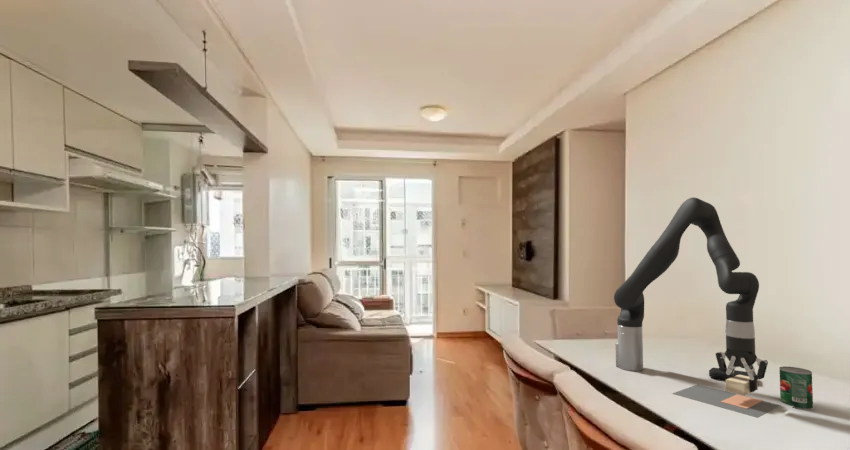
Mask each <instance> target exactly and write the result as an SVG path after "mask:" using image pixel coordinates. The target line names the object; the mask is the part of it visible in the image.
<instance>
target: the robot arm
mask: <svg viewBox="0 0 850 450" xmlns="http://www.w3.org/2000/svg"><path fill="white" fill-rule="evenodd" d="M690 225H694V226H696V227H698V228H699V229H700V230H701V231H702V232H703V234H704V235H705V237H706V251H707V253H708V255H709V257H710V259H711V260H712V263H713V265H714V267H715V271H716V276H717V283H718V287H719V289H720V290H721V291H722V292H724V293H725V294H728V295H738V297H737V298H736V299H735V300H731V301H728V302H727V303H726V304H725V313H726V314H725V317H726V318H725V319H726V320H725V332H724V333H725V347H726V348H725V349H726V350H725V351H723V352H722V351H718V352H716V353H715V359H716V360H717V366H718V368H719V369H720V371H721V372H724V373H726V374H727V379H729V378H732V377H734V375H733V373H734V370H736V368H742V369H744V371H745V372H747V373H748V375H749V378H750V380H749V384H750V392H751V393H754V392H755V391H758V390H757V380H758V381H759V380H762V379H764V378H765V376H766V375H765V374H766V372H767V368H768V363H769V362H768V360H767V359H761V358H758V356H757V355H756V337H755V336H756V334H755V333H756V332H755V330H756V329H755V325H754V306H755V304H756V299H757V297H758V293H759V290H760V289H759V288H760V283H759V282H760V281H759V279H758V277H757V276H756V275H755V273H753V272H749V271H735V270H737V269H738V268H739V267H740V265H741V261H740V259H739V257H738V255H737V253H736V252H735V250H734V249H733V247H732V245H731V244H730V242H729V240H728V238H727V236H726V234H725V231H724V228H723V226H722V224H721V220H720V216H719V214H718V212H717V209H716V207H715V206H714V205H712V204H711V203H709V202H707V201H704V200H702V199H700V198H698V197H689V198H687V199H686V200H685V201H683V202H682V203H681V204H680V206H679V207H678V208H677V210H676V212H675V214H674V215H673V217H672V219H671V220H670V222H669V223H668V225H667V226H666V228H665V229H664V230H663V232H662V233H661V235H660V236H659V238H657V240H656V241H655V242H654V244H653V245H652V246H651V248H650V249H649V250H648V251H647V253H646V254H645V255H644V256H643V258H642V259H641V260H640V261H639V264H637V266H636V268H635V269H634V270H633V272H632V273H631V275H630V276H628V277H627V279H626V280H625V281H624V282H623V283H622V284H621V285H620V286H619V287H618V288H617V289H616V290H615V292H614V296H613V301H614V304H615V305H616V306H617V307H618V308H620V314H619V316H618V317H617V321H616V322H617V342H615V366H616V367H618V368H620V369H622V370H626V371H631V372H632V371H634V372H637V371H638V372H639V371H640V372H641V371H643V370H644V344H643V342H644V341H643V337H644V336H643V320H644V318H645V296H644V291H645V289H646V288H647V287H648V286H649V285H650V284H651V283H653V282H654V281H655V280H657V279H658V278H659V277H661V276H662V275H664V273H665V272H666V271H667V270H668V269H669V268H670V267H671V265H672V264H673V263H674V262H675V260H676V259H677V258H678V255H679V252H680V245H681V239H682V237H683V235H684V233H685V232H686V230H687V229H688V228H689V226H690ZM726 358H727V360H728V361H729V362H728V365H727V364H726ZM755 363H757V367H758V368H757V373H756V368H755V367H754V364H755Z"/></svg>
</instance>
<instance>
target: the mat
mask: <svg viewBox="0 0 850 450" xmlns="http://www.w3.org/2000/svg"><path fill="white" fill-rule="evenodd" d="M671 394H672V395H674V396H677V397H678V396H679V397H681V398H686V399H689V400H692V401H697V402H700V403H704V404H706V405H710V406H713V407H716V408H717V407H718V408H721V409H724V410H729V411H731V412H732V411H733V412H735V413H739V414H742V415H747V416H750V417H753V418H757V419H758V418H761V416H764V415H765V414H767V413H769V412H771V411H773V410H775V409H777V408H779V407H780V406H781V407H782V404H779V403H775V402H770V401H766V400H762V399H758V398H754V397H750V396H747V395H740V394H736V393H732V392H728V391H726V390H724V389H723V390H722V389H720V388H714V387H711V386H707V385H703V384H699V383H697V384H695V385H694V384H693V385H692V386H690V387H687V388H683V389H681V390H678V391H674V392H673V393H671Z"/></svg>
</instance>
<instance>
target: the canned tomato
mask: <svg viewBox="0 0 850 450" xmlns="http://www.w3.org/2000/svg"><path fill="white" fill-rule="evenodd" d="M778 367H779V366H778ZM778 369H779V391H780V393H779V394H780V395H779V397H780V398H779V399H780V402H781V403H783V404H784V405H788V406H790V407H792V409H798V410H805V411H806V410H807V411H810V410H813V409H814V401H813V400H814V397H813V394H814V393H813V392H814V391H813V371H811V370H809V369H806V368H802V367H801V368H800V367H795V366H780V367H779V368H778Z"/></svg>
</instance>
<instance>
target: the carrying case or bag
mask: <svg viewBox="0 0 850 450" xmlns="http://www.w3.org/2000/svg"><path fill="white" fill-rule="evenodd" d="M733 375H734V376H736V375H744V376H749V375H748V373H747V372H746V371H745V370H744V371H743V370H736V369H735V370H734V373H733ZM708 376H709V377H710V379H713V380H715V381H723V382H726V379H727V374H726V373H724V372H721V371H720V369H719V367H711V368H710V369H709V370H708ZM757 383H759V379H758V380H757Z"/></svg>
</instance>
